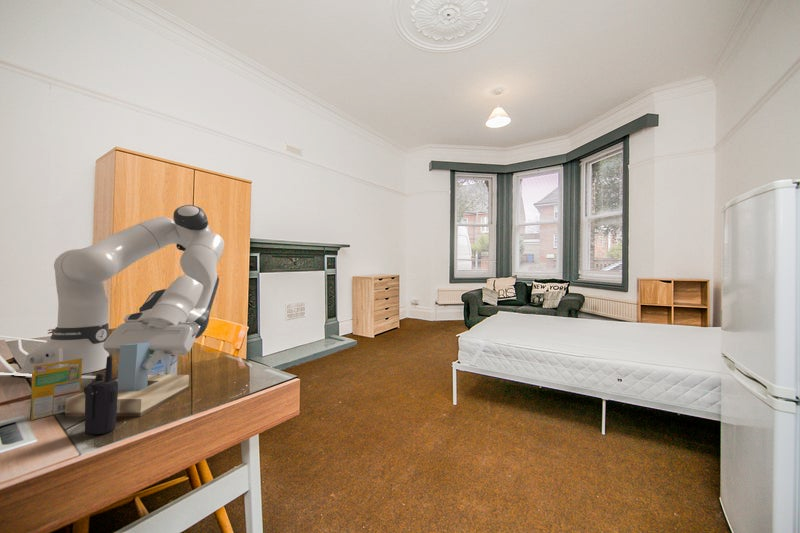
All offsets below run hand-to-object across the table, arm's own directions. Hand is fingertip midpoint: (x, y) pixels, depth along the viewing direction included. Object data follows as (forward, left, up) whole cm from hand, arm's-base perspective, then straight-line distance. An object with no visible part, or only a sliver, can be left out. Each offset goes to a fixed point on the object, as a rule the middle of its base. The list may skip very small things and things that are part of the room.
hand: (133, 368), depth 73 cm
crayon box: (-12, -5, -8) cm, 16 cm away
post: (0, 0, -5) cm, 5 cm away
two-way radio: (+5, -14, -8) cm, 17 cm away
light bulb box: (-7, +16, -8) cm, 19 cm away
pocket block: (0, +1, -8) cm, 8 cm away
